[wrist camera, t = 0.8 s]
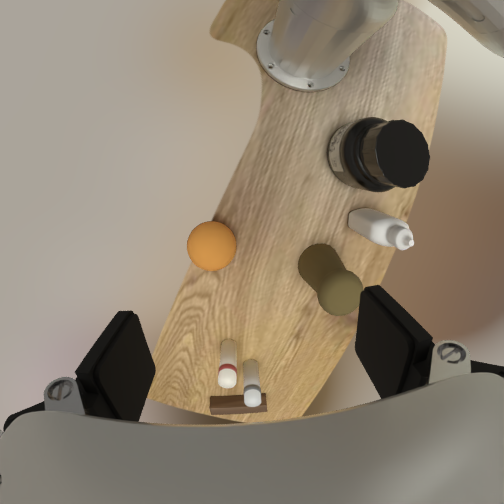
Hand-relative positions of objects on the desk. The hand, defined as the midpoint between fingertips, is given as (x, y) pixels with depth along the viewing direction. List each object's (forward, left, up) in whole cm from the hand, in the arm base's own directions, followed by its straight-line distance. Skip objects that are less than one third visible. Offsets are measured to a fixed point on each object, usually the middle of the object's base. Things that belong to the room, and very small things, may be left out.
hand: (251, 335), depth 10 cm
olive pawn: (+8, +10, -27) cm, 29 cm away
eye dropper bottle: (+2, +17, -27) cm, 31 cm away
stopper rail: (+33, -4, -26) cm, 42 cm away
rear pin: (+24, -1, -26) cm, 36 cm away
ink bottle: (-7, +16, -27) cm, 32 cm away
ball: (+3, -4, -23) cm, 24 cm away
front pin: (+20, -4, -26) cm, 33 cm away
